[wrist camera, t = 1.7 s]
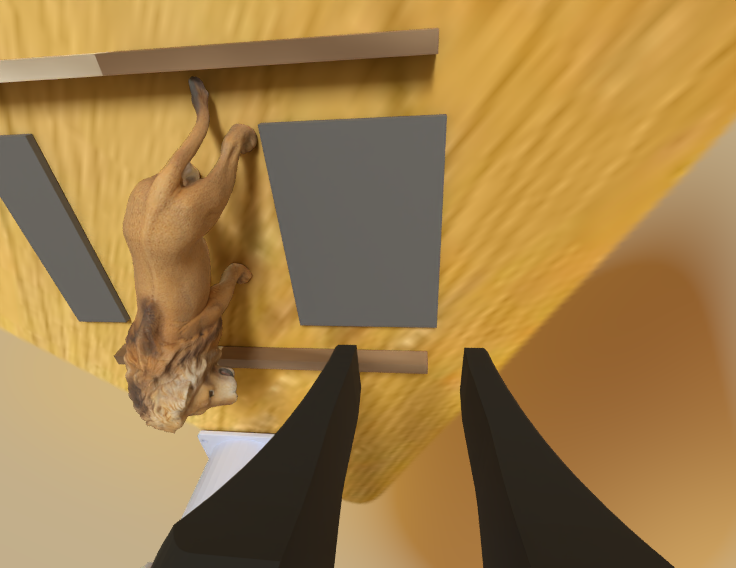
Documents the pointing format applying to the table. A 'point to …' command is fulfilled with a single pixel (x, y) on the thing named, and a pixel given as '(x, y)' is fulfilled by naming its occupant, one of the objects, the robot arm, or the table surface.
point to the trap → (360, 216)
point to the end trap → (55, 231)
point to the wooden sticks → (241, 57)
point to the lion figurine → (181, 280)
